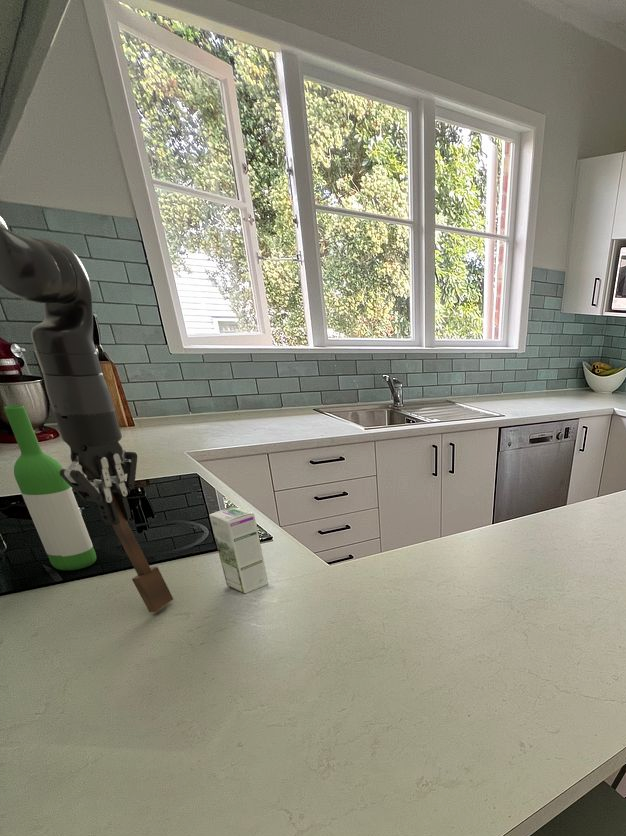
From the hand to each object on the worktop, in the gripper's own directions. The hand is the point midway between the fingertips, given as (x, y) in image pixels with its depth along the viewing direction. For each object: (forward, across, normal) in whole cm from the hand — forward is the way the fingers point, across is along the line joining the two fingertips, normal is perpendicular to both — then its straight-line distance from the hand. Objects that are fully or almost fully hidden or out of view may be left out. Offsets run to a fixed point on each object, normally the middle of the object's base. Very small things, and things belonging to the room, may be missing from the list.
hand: (118, 521), depth 88 cm
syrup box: (+16, -12, +13) cm, 24 cm away
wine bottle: (+17, -13, -25) cm, 33 cm away
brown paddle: (+6, 0, +1) cm, 6 cm away
